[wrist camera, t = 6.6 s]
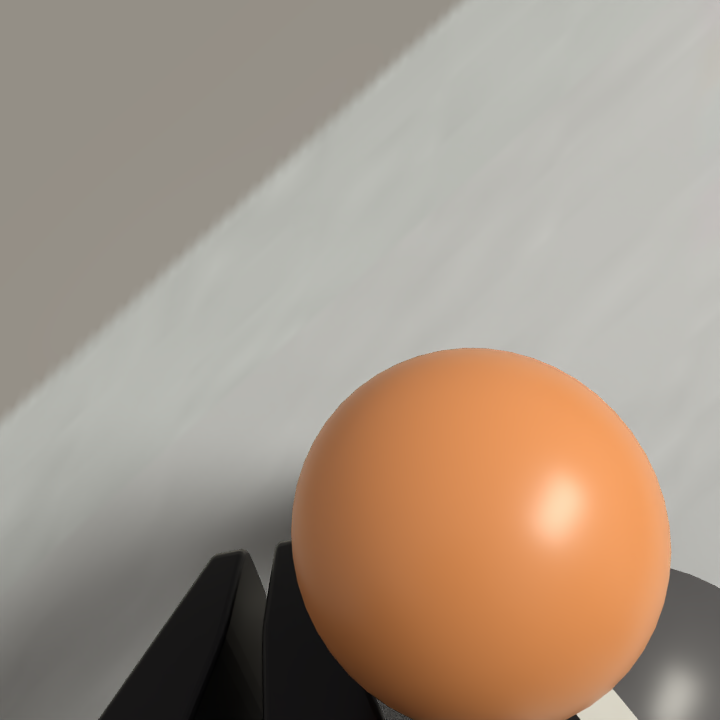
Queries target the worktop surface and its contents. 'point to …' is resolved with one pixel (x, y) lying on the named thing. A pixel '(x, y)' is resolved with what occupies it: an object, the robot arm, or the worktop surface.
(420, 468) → the footscrew lever
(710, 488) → the worktop surface
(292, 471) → the worktop surface
